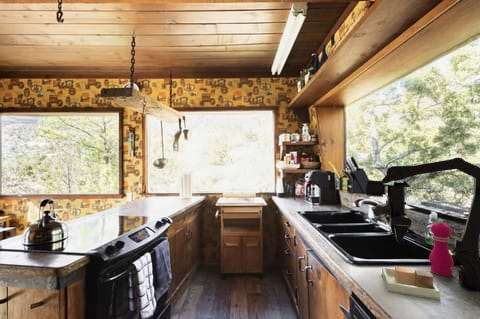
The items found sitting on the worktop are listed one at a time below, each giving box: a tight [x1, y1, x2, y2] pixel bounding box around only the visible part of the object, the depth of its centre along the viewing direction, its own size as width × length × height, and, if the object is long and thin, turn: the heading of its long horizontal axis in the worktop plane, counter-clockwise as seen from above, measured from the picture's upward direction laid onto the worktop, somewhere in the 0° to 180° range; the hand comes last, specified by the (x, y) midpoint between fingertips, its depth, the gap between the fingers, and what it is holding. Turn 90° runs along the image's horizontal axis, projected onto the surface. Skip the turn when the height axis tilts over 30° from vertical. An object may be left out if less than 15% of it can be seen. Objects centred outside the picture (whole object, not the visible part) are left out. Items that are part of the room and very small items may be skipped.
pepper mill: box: [428, 218, 455, 277], centre depth 95 cm, size 7×7×20 cm
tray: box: [381, 266, 441, 301], centre depth 84 cm, size 14×14×3 cm
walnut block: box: [414, 269, 434, 289], centre depth 81 cm, size 4×4×5 cm
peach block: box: [394, 266, 415, 286], centre depth 86 cm, size 4×4×5 cm
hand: (396, 238), depth 97 cm, fingers open, 9 cm apart
